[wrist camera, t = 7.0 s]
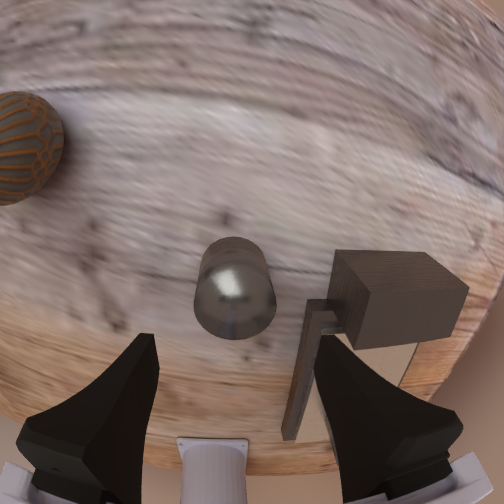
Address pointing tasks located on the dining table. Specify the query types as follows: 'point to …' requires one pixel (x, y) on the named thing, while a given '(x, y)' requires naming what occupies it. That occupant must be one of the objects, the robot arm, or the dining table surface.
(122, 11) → the dining table surface
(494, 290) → the dining table surface
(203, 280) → the ball
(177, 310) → the dining table surface
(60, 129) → the brown egg-shaped piece
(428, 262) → the scale
